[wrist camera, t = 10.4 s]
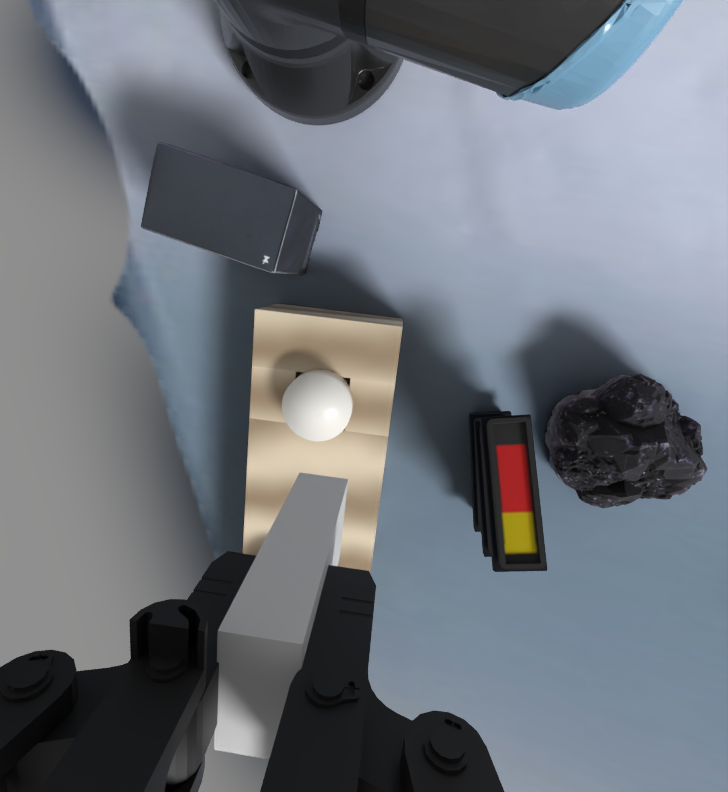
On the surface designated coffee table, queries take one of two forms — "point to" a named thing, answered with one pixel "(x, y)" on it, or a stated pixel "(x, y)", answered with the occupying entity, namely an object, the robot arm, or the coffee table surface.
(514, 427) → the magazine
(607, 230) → the coffee table surface
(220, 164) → the small box
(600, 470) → the black rock
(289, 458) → the block
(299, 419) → the pale plunger
